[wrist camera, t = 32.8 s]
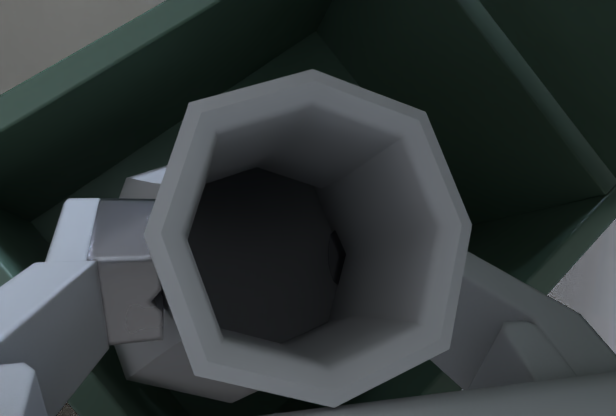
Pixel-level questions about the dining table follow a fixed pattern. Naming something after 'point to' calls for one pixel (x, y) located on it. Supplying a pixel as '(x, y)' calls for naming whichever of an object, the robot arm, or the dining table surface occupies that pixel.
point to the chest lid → (570, 59)
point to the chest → (276, 64)
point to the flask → (299, 244)
